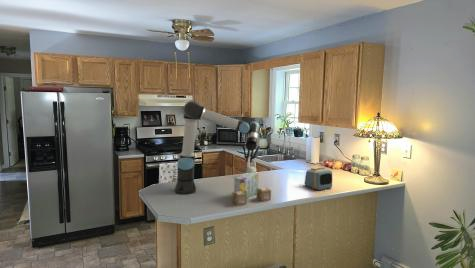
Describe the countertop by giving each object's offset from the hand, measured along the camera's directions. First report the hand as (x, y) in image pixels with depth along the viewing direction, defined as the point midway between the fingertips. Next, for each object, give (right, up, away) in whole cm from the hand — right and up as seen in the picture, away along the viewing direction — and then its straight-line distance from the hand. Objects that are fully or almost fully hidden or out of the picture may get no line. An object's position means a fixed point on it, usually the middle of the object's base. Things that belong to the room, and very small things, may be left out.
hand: (248, 166), depth 216 cm
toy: (+2, -15, +45) cm, 48 cm away
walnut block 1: (-6, -23, -15) cm, 28 cm away
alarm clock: (+56, -19, +27) cm, 65 cm away
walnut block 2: (+10, -22, -6) cm, 25 cm away
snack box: (-1, -21, 0) cm, 21 cm away
